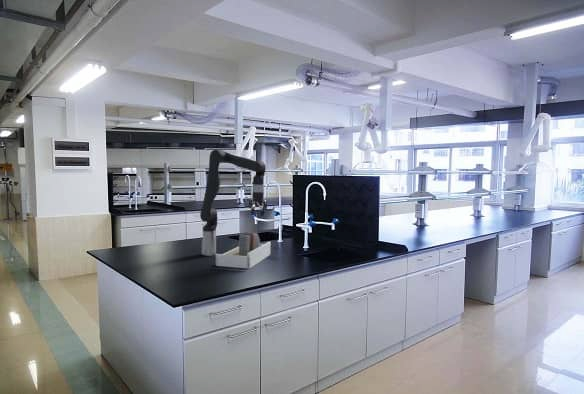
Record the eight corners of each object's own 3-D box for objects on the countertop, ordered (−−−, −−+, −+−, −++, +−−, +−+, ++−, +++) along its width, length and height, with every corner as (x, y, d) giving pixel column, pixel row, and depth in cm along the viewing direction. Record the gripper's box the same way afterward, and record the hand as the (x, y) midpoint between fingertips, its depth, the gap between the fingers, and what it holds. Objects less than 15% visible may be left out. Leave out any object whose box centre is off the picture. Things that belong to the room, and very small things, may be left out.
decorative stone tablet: (247, 235, 229) (261, 231, 259) (238, 234, 231) (252, 231, 260) (246, 266, 229) (260, 259, 258) (236, 265, 230) (251, 258, 260)
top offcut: (229, 258, 240) (229, 255, 240) (238, 253, 255) (238, 250, 254) (237, 258, 239) (237, 255, 238) (246, 253, 253) (246, 251, 253)
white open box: (215, 267, 230) (215, 251, 229) (241, 253, 268) (241, 239, 268) (249, 269, 224) (249, 253, 223) (270, 255, 262) (270, 241, 262)
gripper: (246, 190, 247) (246, 214, 248) (262, 192, 238) (261, 217, 240) (254, 190, 253) (253, 213, 254) (269, 191, 244) (269, 216, 246)
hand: (257, 215), depth 247 cm, fingers open, 8 cm apart
